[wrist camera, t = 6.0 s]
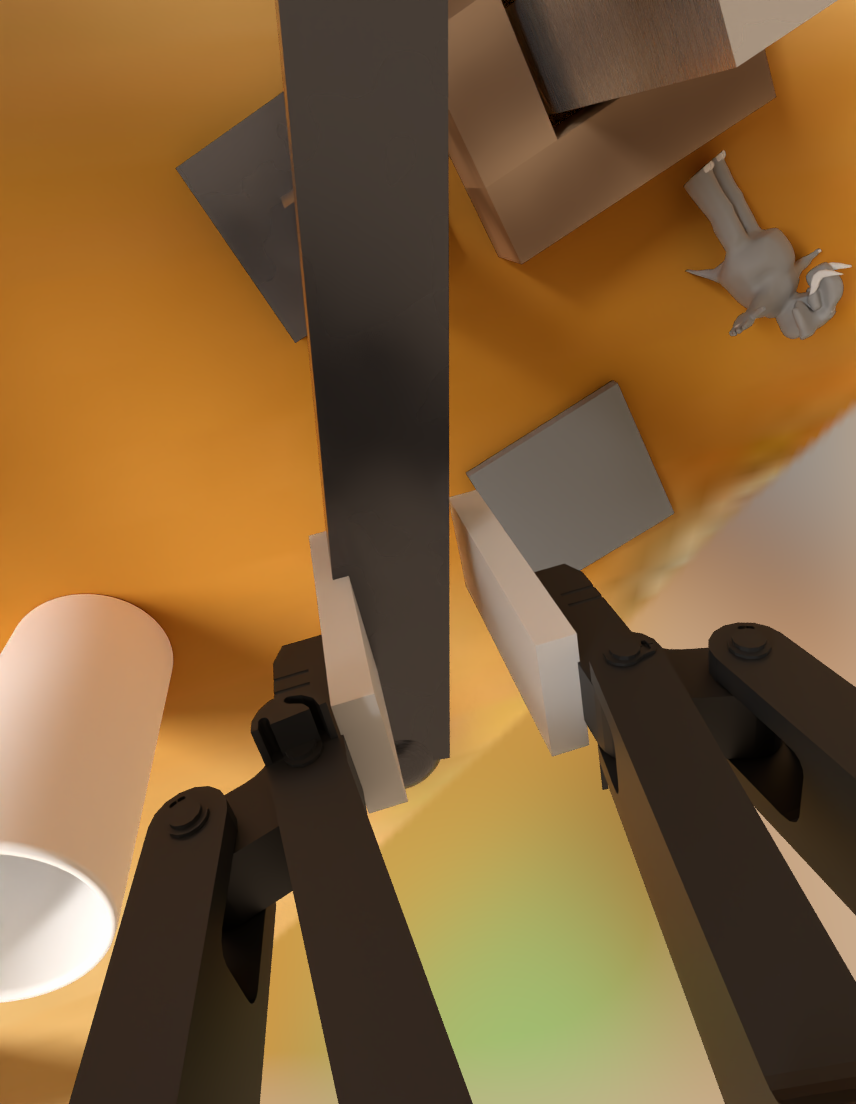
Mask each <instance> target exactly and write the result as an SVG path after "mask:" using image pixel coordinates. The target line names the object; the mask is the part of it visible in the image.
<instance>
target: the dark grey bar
mask: <svg viewBox="0 0 856 1104" xmlns="http://www.w3.org/2000/svg"><path fill="white" fill-rule="evenodd" d="M275 5H276V15H277V25H278V36H279V46H280V57H281V67H282V78H283V88H284V99H285V109H286V120H287V130H288V141H289V151H290V161H291V172H292V182H293V193H294V203H295V214H296V224H297V235H298V245H299V256H300V266H301V276H302V287H303V297H304V308H305V318H306V329H307V339H308V350H309V360H310V371H311V381H312V392H313V402H314V412H315V423H316V433H317V444H318V454H319V465H320V475H321V486H322V496H323V507H324V517H325V527H326V537H327V544H328V551H329V558H330V565H331V572H332V579H333V580H335V579H339V578H343V577H346V576H349V578H350V582H351V585H352V588H353V592H354V595H355V598H356V602H357V605H358V608H359V611H360V615H361V618H362V621H363V625H364V628H365V631H366V635H367V638H368V641H369V645H370V648H371V651H372V654H373V658H374V661H375V664H376V668H377V671H378V675H379V680H380V684H381V688H382V693H383V697H384V701H385V705H386V710H387V714H388V718H389V723H390V727H391V731H392V735H393V740H394V744H395V748H396V753H397V757H398V761H399V765H400V770H401V774H402V778H403V782H404V787H405V789H406V788H409V787H412V786H415V785H417V784H419V783H420V782H422V781H423V780H425V779H426V778H427V777H428V776H429V775H430V774H431V773H432V772H433V771H434V769H435V768H436V767H437V765H438V763H439V762H440V759H445V758H450V713H449V199H448V0H275Z"/></svg>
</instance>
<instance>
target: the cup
mask: <svg viewBox="0 0 856 1104" xmlns="http://www.w3.org/2000/svg"><path fill="white" fill-rule="evenodd" d="M172 668H173V652H172V647H171V644H170V641H169V639H168V637H167V635H166V633H165V632H164V630H163V629H162V628H161V626H160V625H159V624H158V623H157V622H156V621H155V620H154V619H153V618H152V617H151V616H150V615H149V614H147V613H146V612H144V611H143V610H141V609H140V608H138V607H136V606H134V605H132V604H130V603H128V602H125V601H123V600H120V599H117V598H114V597H109V596H104V595H97V594H75V595H68V596H63V597H59V598H55V599H53V600H50V601H47V602H45V603H43V604H41V605H39V606H38V607H36V608H35V609H33V610H32V611H31V612H29V613H28V614H27V615H26V616H25V617H24V618H23V619H22V620H21V621H20V623H19V624H18V626H17V627H16V629H15V630H14V632H13V634H12V635H11V637H10V639H9V641H8V642H7V644H6V646H5V647H4V649H3V651H2V652H1V654H0V1003H1V1002H10V1001H17V1000H22V999H27V998H32V997H36V996H39V995H43V994H46V993H49V992H52V991H54V990H57V989H60V988H62V987H64V986H66V985H68V984H70V983H72V982H74V981H76V980H77V979H79V978H81V977H82V976H84V975H85V974H86V973H88V972H89V971H90V970H92V969H93V968H94V967H95V966H96V965H97V964H98V963H99V962H100V961H101V959H102V958H103V957H104V956H105V954H106V953H107V951H108V950H109V948H110V946H111V944H112V941H113V938H114V935H115V932H116V929H117V925H118V921H119V916H120V911H121V907H122V902H123V898H124V893H125V888H126V884H127V879H128V875H129V870H130V865H131V861H132V856H133V851H134V847H135V842H136V837H137V833H138V828H139V823H140V819H141V814H142V809H143V805H144V800H145V795H146V791H147V786H148V781H149V776H150V772H151V767H152V762H153V758H154V753H155V748H156V744H157V739H158V734H159V730H160V725H161V720H162V716H163V711H164V706H165V702H166V697H167V692H168V688H169V683H170V678H171V674H172Z"/></svg>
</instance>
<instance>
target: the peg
mask: <svg viewBox="0 0 856 1104" xmlns="http://www.w3.org/2000/svg"><path fill="white" fill-rule="evenodd" d="M836 1H837V0H516V1H515V2H513V3H512V4H511V5H510V6H508V7H507V8H506V9H505V11H506V14H507V16H508V19H509V21H510V24H511V26H512V29H513V31H514V34H515V36H516V38H517V41H518V43H519V46H520V48H521V51H522V53H523V56H524V58H525V61H526V63H527V66H528V68H529V71H530V73H531V76H532V78H533V80H534V83H535V85H536V88H537V90H538V93H539V95H540V98H541V100H542V103H543V105H544V108H545V110H546V113H547V115H548V116H549V115H552V114H556V113H560V112H564V111H568V110H572V109H576V108H580V107H584V106H588V105H592V104H595V103H599V102H603V101H607V100H611V99H615V98H619V97H623V96H627V95H631V94H635V93H639V92H642V91H646V90H650V89H654V88H658V87H662V86H666V85H670V84H674V83H678V82H682V81H685V80H689V79H693V78H697V77H701V76H705V75H709V74H713V73H717V72H721V71H725V70H728V69H732V68H736V67H738V66H740V65H741V64H743V63H744V62H746V61H747V60H749V59H750V58H752V57H753V56H755V55H756V54H758V53H759V52H761V51H762V50H764V49H765V48H767V47H768V46H770V45H771V44H773V43H774V42H776V41H777V40H779V39H780V38H782V37H783V36H785V35H786V34H788V33H789V32H791V31H792V30H794V29H795V28H797V27H798V26H800V25H801V24H803V23H804V22H806V21H807V20H809V19H810V18H812V17H813V16H815V15H816V14H818V13H819V12H821V11H822V10H824V9H825V8H827V7H828V6H830V5H831V4H833V3H834V2H836Z"/></svg>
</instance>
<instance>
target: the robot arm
mask: <svg viewBox="0 0 856 1104" xmlns="http://www.w3.org/2000/svg"><path fill="white" fill-rule="evenodd" d="M449 504H450V509H451V514H452V519H453V524H454V529H455V534H456V539H457V544H458V549H459V554H460V559H461V563H462V568H463V573H464V578H465V583H466V587H467V589H468V591H469V593H470V595H471V597H472V599H473V601H474V603H475V605H476V607H477V609H478V611H479V613H480V614H481V616H482V618H483V620H484V622H485V624H486V626H487V628H488V630H489V632H490V634H491V636H492V638H493V640H494V642H495V644H496V646H497V648H498V650H499V652H500V654H501V656H502V658H503V660H504V662H505V664H506V666H507V668H508V670H509V672H510V674H511V676H512V678H513V680H514V682H515V684H516V686H517V688H518V690H519V692H520V694H521V696H522V698H523V700H524V702H525V704H526V706H527V708H528V710H529V712H530V714H531V716H532V718H533V719H534V722H535V723H536V726H537V727H538V729H539V731H540V733H541V735H542V737H543V739H544V741H545V743H546V745H547V747H548V749H549V751H550V753H551V755H552V756H556V755H559V754H562V753H565V752H568V751H572V750H575V749H578V748H581V747H584V746H588V745H589V739H588V730H587V726H588V727H589V729H590V731H591V732H592V734H593V736H594V737H595V739H596V741H597V742H598V751H599V760H600V769H601V780H602V789H603V790H604V789H608V786H609V789H610V792H611V794H612V797H613V800H614V802H615V805H616V808H617V811H618V813H619V816H620V819H621V821H622V824H623V827H624V830H625V832H626V835H627V838H628V841H629V843H630V846H631V849H632V851H633V854H634V857H635V860H636V862H637V865H638V868H639V871H640V873H641V876H642V879H643V881H644V884H645V887H646V889H647V892H648V895H649V898H650V900H651V903H652V906H653V909H654V911H655V914H656V917H657V919H658V922H659V925H660V928H661V930H662V933H663V936H664V938H665V941H666V944H667V947H668V949H669V952H670V955H671V958H672V960H673V963H674V966H675V969H676V971H677V974H678V977H679V979H680V982H681V985H682V988H683V990H684V993H685V996H686V999H687V1001H688V1004H689V1007H690V1010H691V1012H692V1015H693V1018H694V1020H695V1023H696V1026H697V1029H698V1031H699V1034H700V1036H701V1039H702V1042H703V1045H704V1048H705V1050H706V1053H707V1055H708V1059H709V1061H710V1064H711V1067H712V1069H713V1072H714V1075H715V1078H716V1080H717V1083H718V1086H719V1089H720V1091H721V1094H722V1096H723V1099H724V1102H725V1104H856V982H855V980H854V978H853V976H852V975H851V973H850V971H849V970H848V968H847V966H846V964H845V963H844V961H843V959H842V957H841V956H840V954H839V952H838V951H837V949H836V947H835V945H834V944H833V942H832V940H831V939H830V937H829V935H828V933H827V932H826V930H825V928H824V927H823V925H822V923H821V921H820V920H819V918H818V916H817V914H816V913H815V911H814V909H813V908H812V906H811V904H810V902H809V901H808V899H807V897H806V896H805V894H804V892H803V891H802V889H801V887H800V885H799V884H798V882H797V880H796V878H795V876H794V875H793V873H792V871H791V870H790V868H789V866H788V864H787V863H786V861H785V859H784V858H783V856H782V854H781V852H780V851H779V849H778V847H777V846H776V844H775V842H774V840H773V839H772V837H771V835H770V833H769V832H768V830H767V828H766V827H765V825H764V823H763V821H762V820H761V818H760V816H759V815H758V813H757V811H756V809H757V810H758V811H759V812H760V813H761V814H762V815H763V816H764V817H765V819H766V820H767V821H768V822H769V823H770V824H771V825H772V826H773V827H774V828H775V829H776V830H777V831H778V832H779V834H780V835H781V836H782V837H783V838H784V839H785V840H786V841H787V842H788V843H789V844H790V845H791V846H792V847H793V849H795V851H796V852H797V853H798V854H799V855H800V856H801V857H802V858H803V859H804V860H805V861H806V862H807V864H808V865H809V866H810V867H811V868H812V869H813V870H814V871H815V872H816V873H817V874H818V875H819V876H820V877H821V878H822V880H824V882H825V883H826V884H827V885H828V886H829V887H830V888H831V889H832V890H833V891H834V892H835V894H836V895H837V896H838V897H839V898H840V899H841V900H842V901H843V902H844V903H845V904H846V905H847V906H848V907H849V908H850V910H851V911H852V912H853V913H854V914H855V915H856V687H854V686H853V685H852V684H850V683H849V682H848V681H846V680H845V679H843V678H842V677H841V676H839V675H838V674H836V673H835V672H834V671H832V670H831V669H830V668H828V667H827V666H826V665H824V664H823V663H822V662H820V661H819V660H817V659H816V658H815V657H813V656H812V655H810V654H809V653H808V652H806V651H805V650H804V649H802V648H801V647H800V646H798V645H797V644H795V643H794V642H793V641H791V640H790V639H789V638H787V637H786V636H784V635H783V634H782V633H780V632H778V631H776V630H774V629H772V628H770V627H768V626H764V625H760V624H756V623H734V624H730V625H725V626H723V627H721V628H720V629H718V630H716V631H714V632H713V634H712V635H711V637H710V639H709V648H698V649H683V650H679V649H675V650H674V649H673V650H672V649H670V650H669V649H664V648H662V647H661V646H660V645H659V644H658V643H657V642H656V641H655V640H654V639H653V638H650V637H648V636H646V635H644V634H641V633H635V632H631V630H630V629H629V628H628V627H627V626H626V624H625V623H624V622H623V621H622V620H621V618H620V617H619V616H618V615H617V613H616V612H615V611H614V610H613V609H612V607H611V606H610V605H609V604H608V603H607V601H606V600H605V599H604V598H602V596H601V594H600V593H599V592H598V590H597V589H596V588H595V587H593V584H592V583H591V582H590V581H589V580H588V578H587V577H586V576H585V575H584V573H583V572H581V571H579V570H577V569H575V568H573V567H571V566H569V565H567V564H565V563H564V564H561V565H557V566H554V567H550V568H547V569H543V570H540V571H536V572H533V570H532V569H531V567H530V566H529V564H528V563H527V562H526V560H525V559H524V557H523V556H522V554H521V553H520V552H519V550H518V549H517V547H516V546H515V544H514V543H513V542H512V540H511V539H510V537H509V536H508V534H507V533H506V532H505V530H504V529H503V527H502V526H501V524H500V523H499V521H498V520H497V519H496V517H495V516H494V514H493V513H492V511H491V510H490V509H489V507H488V506H487V504H486V503H485V501H484V500H483V499H482V497H481V496H480V494H479V493H478V491H477V490H474V491H471V492H467V493H463V494H460V495H456V496H452V497H449ZM309 540H310V548H311V556H312V563H313V571H314V579H315V587H316V595H317V603H318V610H319V618H320V626H321V634H322V635H319V636H316V637H312V638H309V639H305V640H302V641H298V642H295V643H291V644H288V645H284V646H282V648H281V650H280V652H279V653H278V655H277V657H276V659H275V661H274V663H273V672H274V694H275V696H274V699H272V700H270V701H269V702H267V703H266V704H265V705H264V706H263V707H262V708H261V709H260V710H259V711H258V712H257V714H256V715H255V717H254V719H253V720H252V724H251V734H252V736H253V738H254V741H255V743H256V745H257V747H258V750H259V752H260V754H261V756H262V759H263V761H264V763H265V767H264V768H263V769H262V770H261V771H260V772H259V773H258V774H257V775H256V776H255V777H254V778H252V779H251V780H249V781H248V782H246V783H245V784H243V785H241V786H240V787H238V788H236V789H234V790H233V791H231V792H229V793H227V794H226V795H223V793H222V792H221V791H220V790H219V789H216V788H213V787H210V786H205V787H194V788H192V789H189V790H186V791H184V792H181V793H179V794H178V795H176V796H175V797H173V798H172V799H170V800H169V801H167V802H166V803H165V804H164V805H163V806H162V807H161V808H160V809H159V810H158V812H157V813H156V814H155V815H154V817H153V819H152V821H151V823H150V825H149V827H148V830H147V834H146V837H145V841H144V844H143V848H142V851H141V855H140V858H139V862H138V865H137V868H136V872H135V875H134V879H133V882H132V886H131V889H130V893H129V896H128V900H127V903H126V907H125V910H124V914H123V917H122V921H121V924H120V928H119V931H118V935H117V938H116V942H115V945H114V949H113V952H112V956H111V959H110V963H109V966H108V970H107V973H106V977H105V980H104V983H103V987H102V990H101V994H100V997H99V1001H98V1004H97V1008H96V1011H95V1015H94V1018H93V1022H92V1025H91V1029H90V1032H89V1036H88V1039H87V1043H86V1046H85V1050H84V1053H83V1057H82V1060H81V1064H80V1067H79V1071H78V1074H77V1078H76V1081H75V1085H74V1088H73V1092H72V1095H71V1098H70V1102H69V1104H260V1093H261V1081H262V1068H263V1056H264V1045H265V1033H266V1021H267V1009H268V997H269V985H270V973H271V961H272V960H271V959H272V948H273V937H274V924H275V912H276V901H278V900H279V899H281V898H282V897H284V896H285V895H287V894H288V893H290V892H291V891H293V894H294V899H295V903H296V908H297V913H298V917H299V922H300V926H301V931H302V936H303V940H304V945H305V950H306V954H307V959H308V963H309V968H310V973H311V977H312V982H313V987H314V992H315V996H316V1000H317V1006H318V1010H319V1015H320V1019H321V1023H322V1029H323V1033H324V1038H325V1043H326V1047H327V1052H328V1057H329V1061H330V1066H331V1071H332V1075H333V1080H334V1084H335V1089H336V1094H337V1098H338V1103H339V1104H473V1103H472V1100H471V1098H470V1095H469V1092H468V1089H467V1087H466V1084H465V1082H464V1078H463V1076H462V1073H461V1070H460V1068H459V1065H458V1062H457V1059H456V1057H455V1054H454V1051H453V1049H452V1046H451V1043H450V1040H449V1038H448V1035H447V1032H446V1029H445V1027H444V1024H443V1021H442V1018H441V1016H440V1013H439V1010H438V1007H437V1005H436V1002H435V999H434V997H433V994H432V991H431V988H430V986H429V983H428V980H427V977H426V975H425V972H424V969H423V966H422V964H421V961H420V958H419V956H418V953H417V950H416V947H415V945H414V942H413V939H412V936H411V934H410V931H409V928H408V925H407V923H406V920H405V917H404V914H403V912H402V909H401V906H400V903H399V901H398V898H397V895H396V893H395V890H394V887H393V884H392V882H391V879H390V876H389V874H388V871H387V868H386V866H385V863H384V860H383V857H382V854H381V852H380V849H379V846H378V843H377V841H376V838H375V835H374V832H373V830H372V827H371V824H370V821H369V819H368V816H367V810H366V806H367V809H368V812H369V813H373V812H376V811H379V810H382V809H385V808H389V807H392V806H395V805H398V804H401V803H405V802H408V800H407V795H406V791H405V787H404V782H403V778H402V774H401V770H400V765H399V761H398V757H397V753H396V748H395V744H394V740H393V735H392V731H391V727H390V723H389V718H388V714H387V710H386V705H385V701H384V697H383V693H382V688H381V684H380V680H379V675H378V671H377V668H376V664H375V661H374V658H373V654H372V651H371V648H370V645H369V641H368V638H367V635H366V631H365V628H364V625H363V621H362V618H361V615H360V611H359V608H358V605H357V602H356V598H355V595H354V592H353V588H352V585H351V582H350V578H349V576H346V577H343V578H339V579H335V580H333V579H332V572H331V565H330V558H329V551H328V544H327V537H326V531H325V532H321V533H318V534H314V535H310V536H309ZM365 803H366V804H365ZM754 806H755V808H756V809H755V808H754Z"/></svg>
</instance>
